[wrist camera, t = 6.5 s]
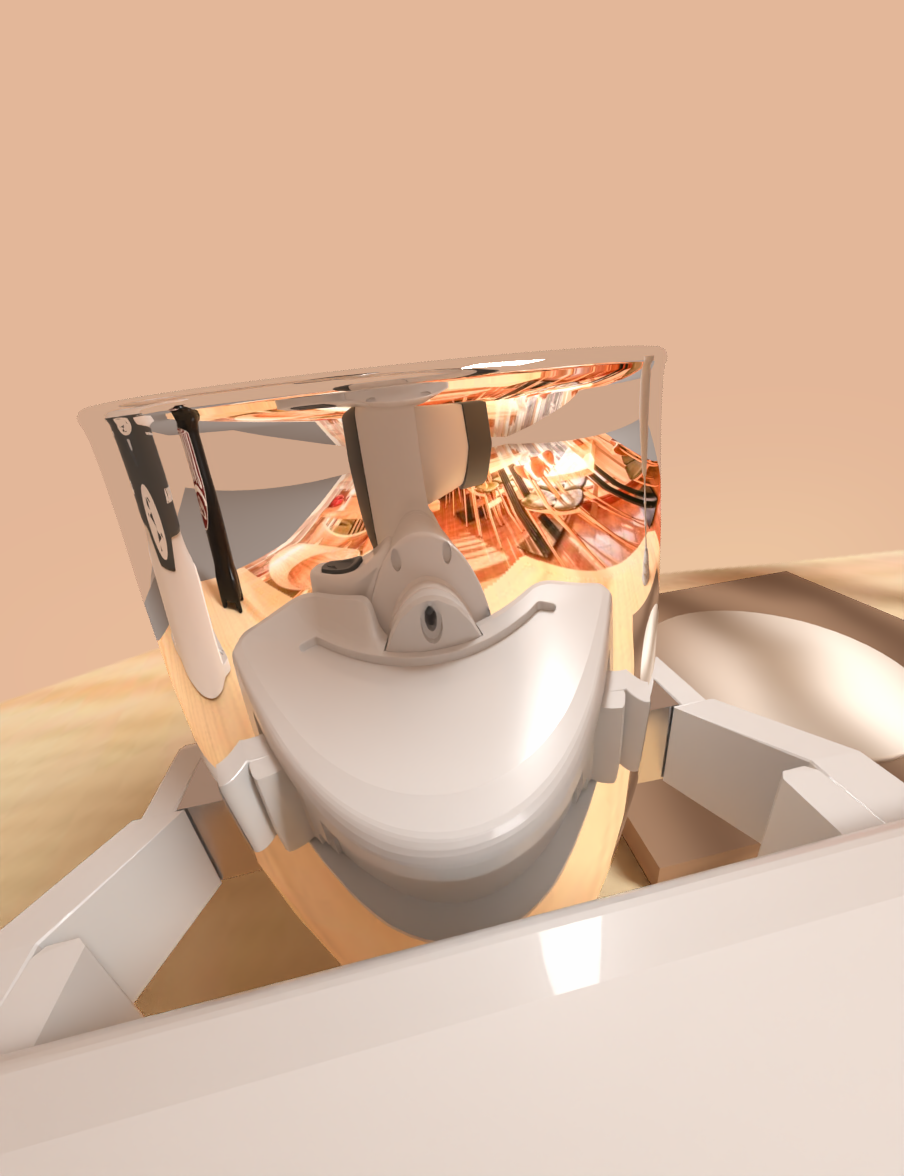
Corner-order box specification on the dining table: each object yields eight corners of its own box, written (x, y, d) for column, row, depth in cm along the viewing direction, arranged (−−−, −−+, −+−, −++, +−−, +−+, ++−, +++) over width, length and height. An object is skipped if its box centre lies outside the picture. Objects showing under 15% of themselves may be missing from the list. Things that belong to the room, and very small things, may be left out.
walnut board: (656, 893, 13) (661, 859, 13) (507, 636, 28) (506, 615, 27) (1159, 759, 16) (1186, 725, 15) (782, 587, 30) (787, 565, 30)
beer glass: (328, 922, 14) (134, 413, 7) (516, 825, 16) (491, 376, 10) (393, 1311, 8) (-303, 414, 1) (676, 1066, 10) (875, 320, 4)
